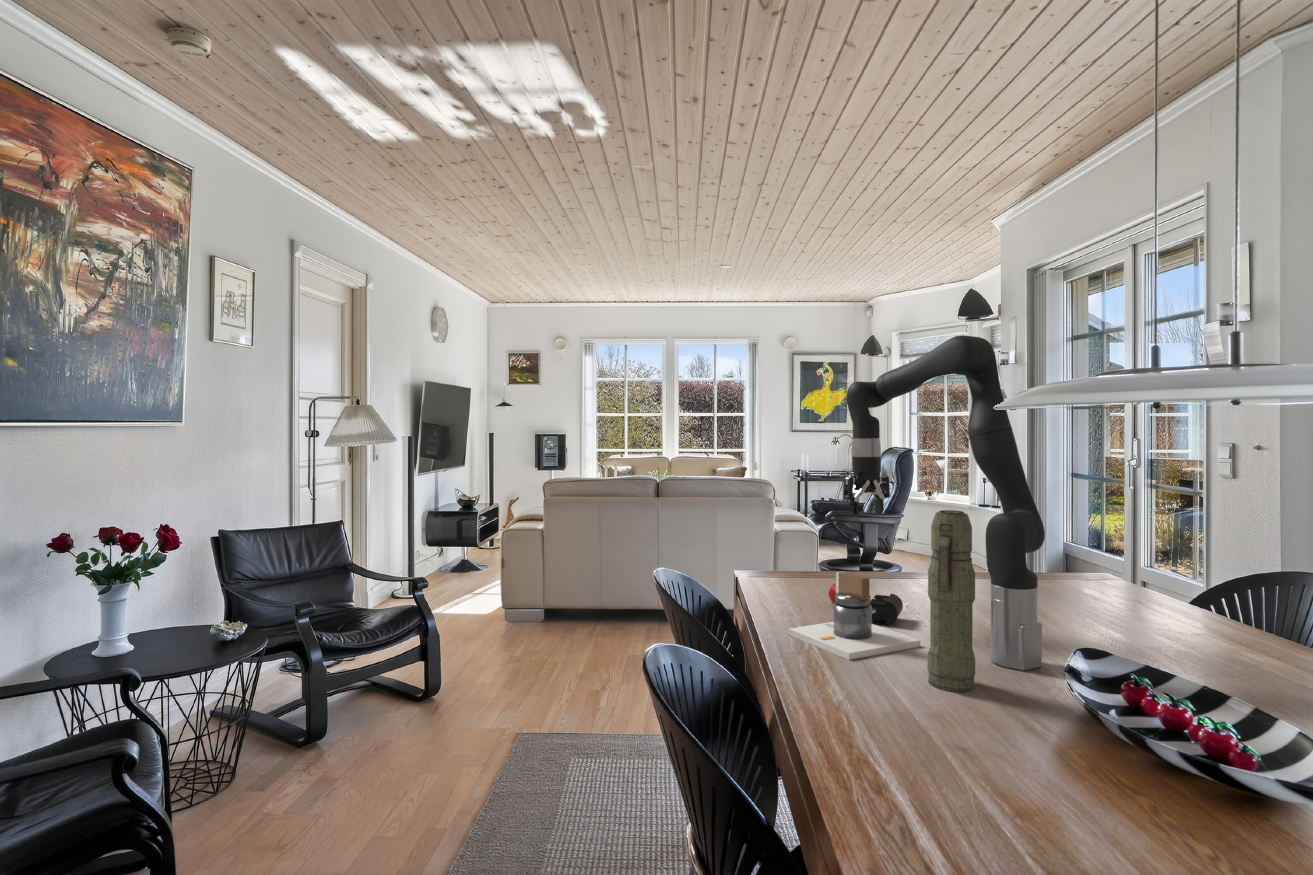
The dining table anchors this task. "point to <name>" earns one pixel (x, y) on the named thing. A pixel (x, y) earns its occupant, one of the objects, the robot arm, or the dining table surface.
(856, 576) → the lock lever handle
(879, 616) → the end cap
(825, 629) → the lock base
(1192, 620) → the dining table surface
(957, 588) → the thermos
